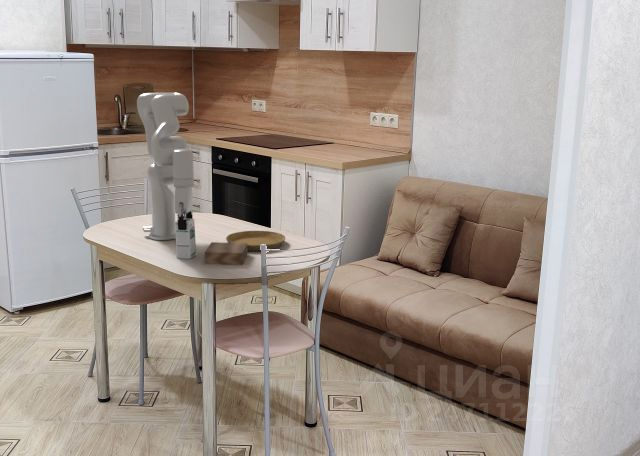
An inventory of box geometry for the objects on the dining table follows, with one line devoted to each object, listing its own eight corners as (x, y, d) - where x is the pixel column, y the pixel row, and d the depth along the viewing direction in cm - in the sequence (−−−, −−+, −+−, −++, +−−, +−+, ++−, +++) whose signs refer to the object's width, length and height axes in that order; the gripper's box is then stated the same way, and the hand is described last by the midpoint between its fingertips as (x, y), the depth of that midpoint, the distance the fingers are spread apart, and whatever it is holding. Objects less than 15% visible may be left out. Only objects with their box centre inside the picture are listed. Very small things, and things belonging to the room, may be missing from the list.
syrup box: (190, 259, 272) (189, 222, 268) (176, 258, 273) (174, 221, 270) (196, 255, 277) (195, 218, 274) (181, 254, 279) (180, 217, 275)
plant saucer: (255, 234, 310) (255, 227, 309) (297, 244, 295) (297, 236, 294) (213, 245, 292) (213, 237, 291) (256, 256, 277) (256, 248, 276)
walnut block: (204, 265, 266) (204, 252, 265) (211, 254, 280) (211, 242, 278) (242, 266, 266) (242, 253, 264) (247, 255, 279) (247, 243, 278)
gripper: (179, 178, 277) (181, 222, 281) (167, 186, 260) (169, 232, 264) (198, 178, 276) (200, 222, 280) (188, 186, 259) (190, 232, 263)
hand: (185, 227), depth 272 cm, fingers open, 9 cm apart
